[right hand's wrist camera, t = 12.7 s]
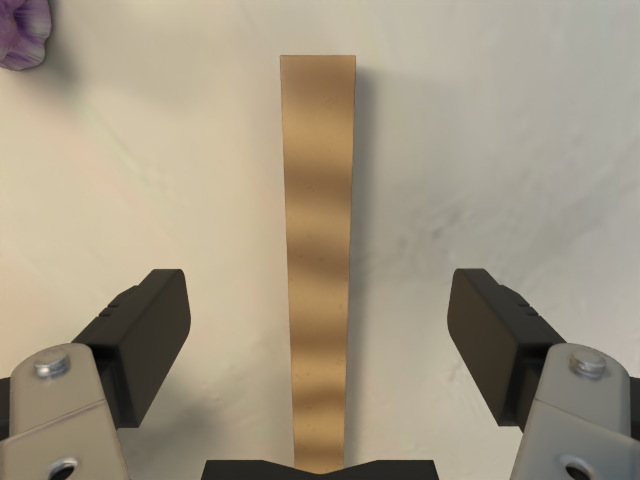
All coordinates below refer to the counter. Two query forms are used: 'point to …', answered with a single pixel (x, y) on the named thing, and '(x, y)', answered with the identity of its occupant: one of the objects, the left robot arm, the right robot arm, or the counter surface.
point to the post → (318, 247)
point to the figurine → (23, 33)
